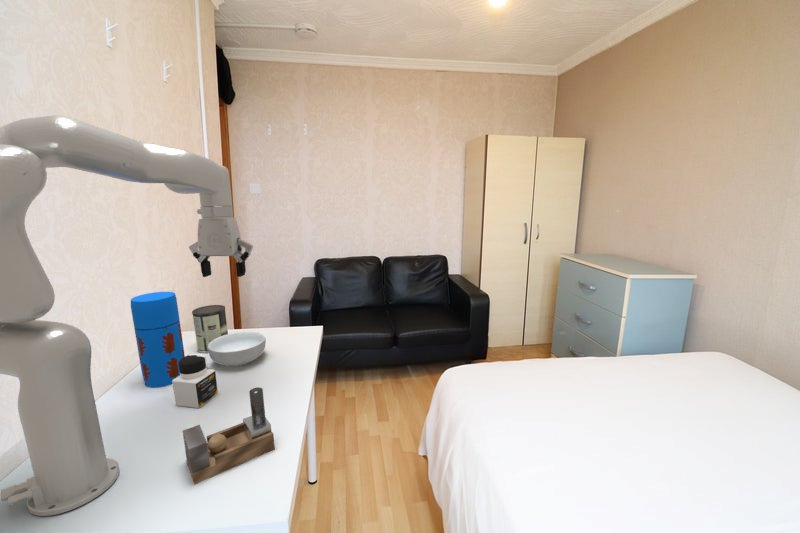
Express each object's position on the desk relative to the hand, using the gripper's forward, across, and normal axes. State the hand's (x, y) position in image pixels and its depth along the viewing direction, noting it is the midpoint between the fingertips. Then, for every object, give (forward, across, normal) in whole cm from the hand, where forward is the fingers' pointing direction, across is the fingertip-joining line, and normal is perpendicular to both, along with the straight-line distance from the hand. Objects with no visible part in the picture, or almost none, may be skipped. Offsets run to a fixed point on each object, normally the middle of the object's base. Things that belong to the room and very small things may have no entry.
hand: (224, 275), depth 100 cm
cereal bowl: (+31, -5, +12) cm, 33 cm away
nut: (+29, +14, -32) cm, 45 cm away
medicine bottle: (+31, -5, -11) cm, 33 cm away
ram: (+29, +19, -27) cm, 44 cm away
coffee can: (+31, -20, +23) cm, 43 cm away
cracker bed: (+31, +15, -31) cm, 46 cm away
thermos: (+31, -21, 0) cm, 37 cm away
